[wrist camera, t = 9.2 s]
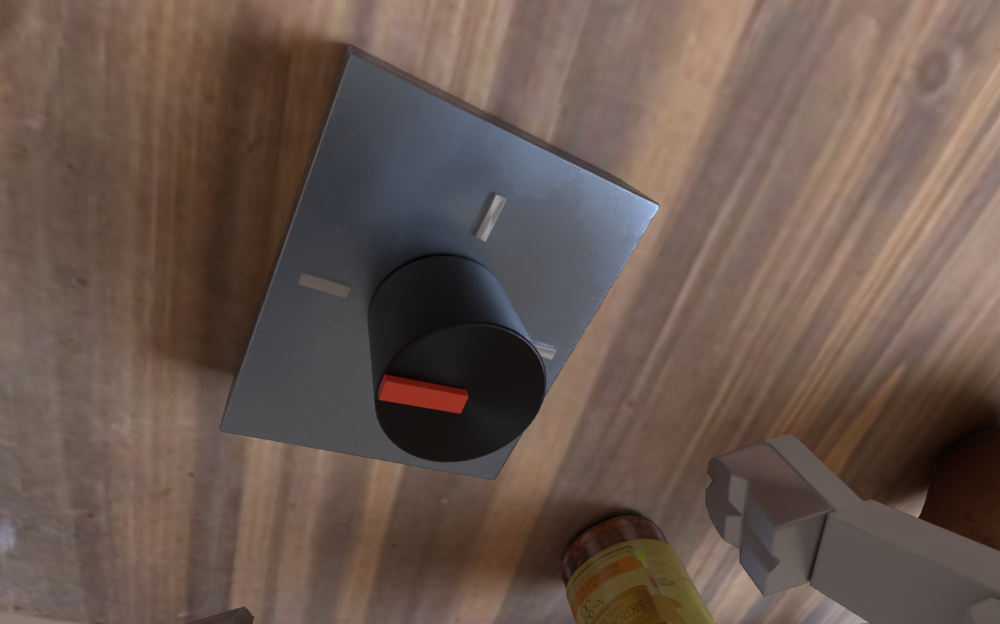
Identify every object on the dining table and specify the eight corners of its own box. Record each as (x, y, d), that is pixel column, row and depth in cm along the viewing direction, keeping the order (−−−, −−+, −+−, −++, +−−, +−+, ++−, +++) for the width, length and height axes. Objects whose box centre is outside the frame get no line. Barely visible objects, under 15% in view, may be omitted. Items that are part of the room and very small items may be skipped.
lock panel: (478, 430, 24) (495, 484, 21) (233, 376, 20) (217, 435, 17) (620, 178, 20) (664, 207, 17) (347, 43, 15) (349, 52, 13)
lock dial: (529, 276, 17) (580, 350, 14) (477, 387, 19) (510, 480, 15) (393, 236, 15) (409, 309, 12) (350, 362, 17) (352, 461, 13)
